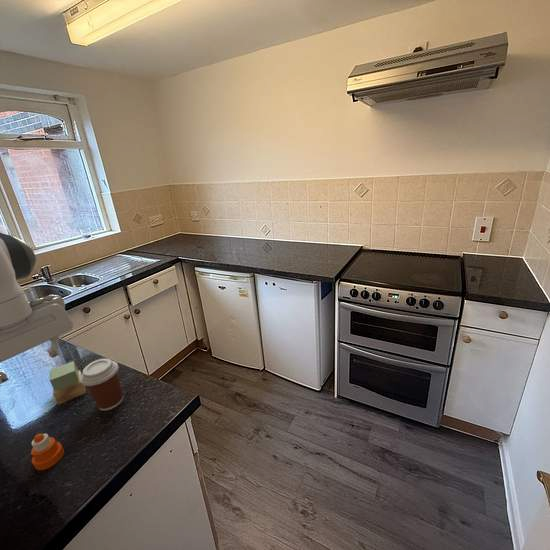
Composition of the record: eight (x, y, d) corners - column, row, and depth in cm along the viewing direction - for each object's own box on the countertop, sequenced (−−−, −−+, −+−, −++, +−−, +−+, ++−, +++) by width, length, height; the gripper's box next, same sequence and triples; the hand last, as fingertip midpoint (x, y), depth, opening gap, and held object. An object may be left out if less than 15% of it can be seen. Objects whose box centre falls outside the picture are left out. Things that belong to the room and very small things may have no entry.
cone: (30, 474, 65) (16, 450, 62) (40, 452, 70) (27, 430, 67) (60, 464, 66) (47, 440, 64) (67, 443, 71) (56, 421, 69)
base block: (58, 404, 84) (52, 393, 83) (58, 391, 89) (53, 380, 88) (86, 392, 88) (81, 382, 86) (84, 380, 93) (80, 370, 92)
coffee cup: (121, 411, 79) (107, 375, 75) (86, 416, 79) (70, 380, 74) (133, 387, 87) (121, 353, 83) (102, 392, 87) (88, 358, 83)
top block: (54, 392, 83) (49, 380, 82) (55, 380, 88) (49, 369, 86) (79, 381, 86) (74, 370, 85) (78, 371, 91) (73, 360, 89)
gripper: (54, 289, 69) (75, 339, 74) (-72, 333, 54) (-35, 392, 59) (65, 293, 66) (86, 346, 71) (-66, 342, 51) (-27, 404, 56)
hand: (30, 367), depth 65 cm, fingers open, 8 cm apart
